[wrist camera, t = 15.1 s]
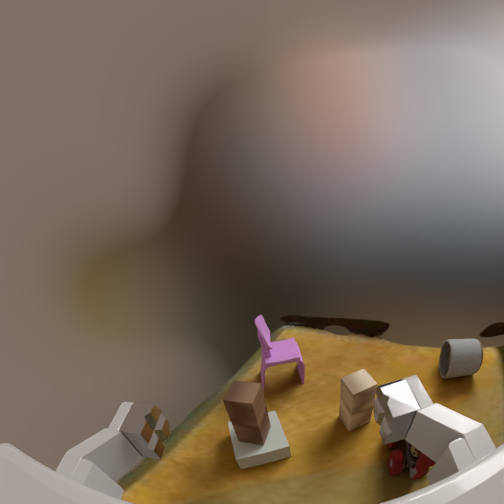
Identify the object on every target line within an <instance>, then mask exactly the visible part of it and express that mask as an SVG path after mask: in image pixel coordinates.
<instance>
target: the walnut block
mask: <svg viewBox="0 0 504 504" xmlns="http://www.w3.org/2000/svg"><path fill="white" fill-rule="evenodd" d="M223 401H224V404H225V407H226V410H227V412H228V415H229V418H230V420H231V423H232V425H233V428H234V431H235V433H236V436H237V438H238V441H240V442H246V443H253V444H261V445H264V444H265V441H266V438H267V436H268V433H269V430H270V427H271V424H270V420H269V415H268V411H267V407H266V402H265V398H264V394H263V389H262V385H261V383H253V382H241V381H233V383H232V385H231V387H230V388H229V390H228V392H227V394H226V396H225V397H224V399H223Z"/></svg>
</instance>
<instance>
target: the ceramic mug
mask: <svg viewBox="0 0 504 504" xmlns="http://www.w3.org/2000/svg"><path fill="white" fill-rule="evenodd" d="M482 361H483V347H482V344H481V342H480V341H479V340H477V339H452V340H451V339H450V340H446V341H445V342H444V343H443V345H442V348H441V353H440V360H439V369H440V375H441V377H442V378H444V379H446V378H453V377H460V376H467V375H472V374H474V373H476V372H477V371H478V370H479V369H480V367H481V364H482Z"/></svg>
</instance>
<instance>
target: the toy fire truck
mask: <svg viewBox="0 0 504 504" xmlns="http://www.w3.org/2000/svg"><path fill="white" fill-rule="evenodd" d="M404 440H405V439H404ZM400 441H401V440H399V441H396V442H392V443H389V444H387V445H388V447H389V448H395V447H398V446H399V445H400ZM405 443H406V450H407V451H406V453H403V451H402V450H400V449H399V450H394V451H392V452H391V453H390V456H389V463H388V468H389V473H390V475H396V474H400V473H401V472H402V470H403V469H404V468H407V467H408V466H409V471H410V478H411V479H412V480H414V479H419V478H421V477H422V476H423V475H424V474H425V473H426V472H427V470H428V468H429V467H430V466H433V465H434V464H435V463H436V462H434V461H433V460H432V459H430V458H429V457H428V456H426V455H425V454H423V453H422V452H421V451H419V450H418V449H417V448H415V447H414V446H413V445H411V444H410V443H409V442H407V441H406V440H405Z"/></svg>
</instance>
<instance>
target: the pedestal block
mask: <svg viewBox="0 0 504 504" xmlns="http://www.w3.org/2000/svg"><path fill="white" fill-rule="evenodd" d="M268 415H269V420H270V424H271V427H270V430H269V433H268V436H267V438H266V441H265V444H264V445H261V444H253V443H246V442H240V441H238V438H237V436H236V433H235V431H234V428H233V425H232V423H231V422H228V425H229V430H230V435H231V440H232V445H233V449H234V454H235V458H236V461H237V463H238V465H239V467H240V468H241V469H244V468H249V467H253V466H257V465H262V464H266V463H269V462H273V461H277V460H280V459H284V458H287V457H291V453H290V447H289V444H288V442H287V439H286V437H285V434H284V432H283V429H282V427H281V424H280V422H279V419H278V417H277V414H276V412H275V411H271V412H268Z"/></svg>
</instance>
